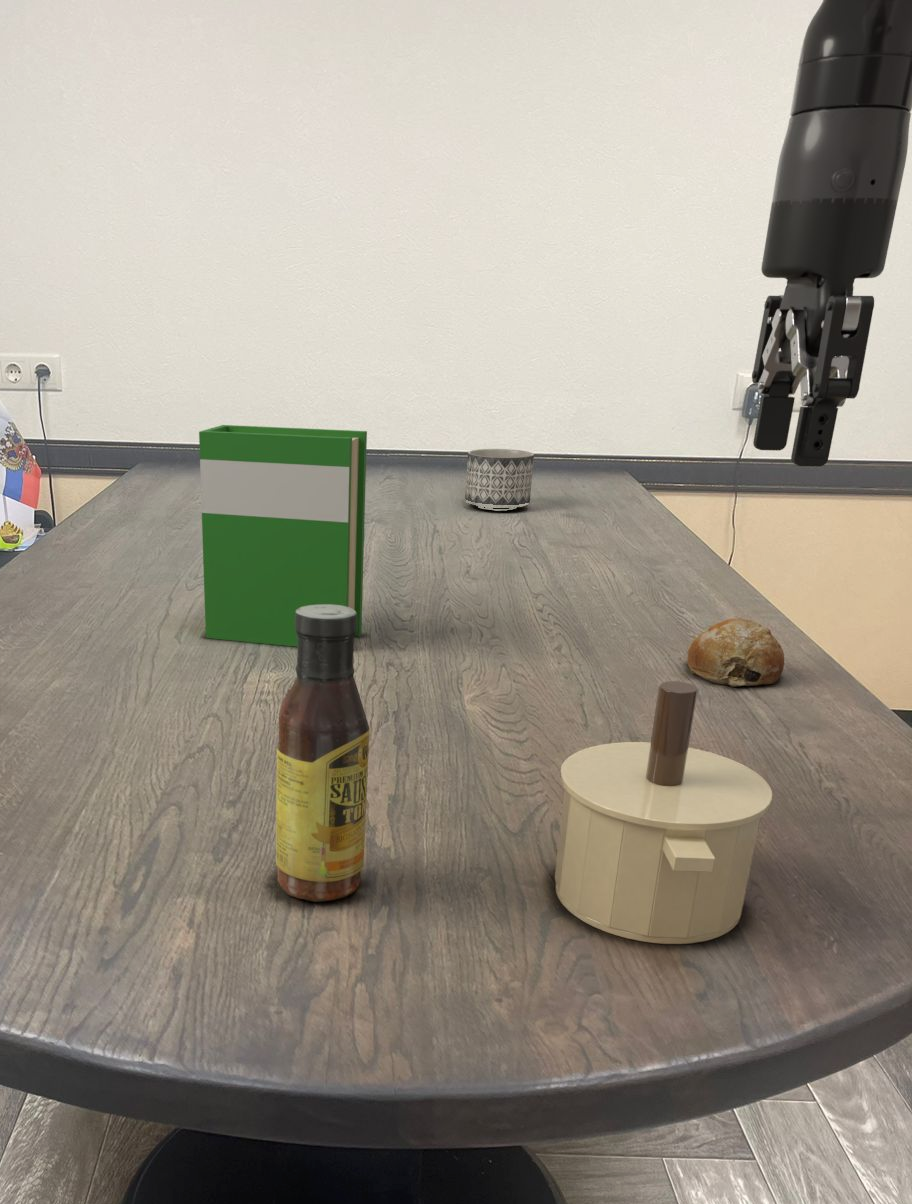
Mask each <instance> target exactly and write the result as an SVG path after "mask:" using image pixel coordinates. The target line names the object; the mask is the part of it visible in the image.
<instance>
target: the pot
mask: <svg viewBox="0 0 912 1204" xmlns="http://www.w3.org/2000/svg"><path fill="white" fill-rule="evenodd" d="M563 792H564V793H563V800H562V802H563V803H562V808H561V809H562V810H561V819H560V827H559V836H558V837H559V838H558V844H557V854H556V861H555V871H554V880H555V886H554V887H555V888H554V889H555V893H556V896H557V898H558V900H559V902H560V903H561V905H562V906H563V907H564V908H565V909H566V910H567V911H568V912H570V914H572V915H573V916H575V917H576V918H577V919H579V920H581V921H582V922H583V923H586V924H587V925H589V926H591V927H593V928H595V929H598V930H601V931H602V932H605V933H608V934H611V935H614V936H617V937H621V938H624V939H627V940H631V941H632V940H633V941H637V942H644V943H651V944H659V945H661V944H662V945H687V944H695V943H696V944H697V943H703V942H707V941H711V940H715V939H716V938H719V937H722V936H723V935H725V934H728V933H729V932H730V931H731V930H733V929H734V928H735V927H736V926H737V925H738V923H739V922H740V921H741V920H740V919H741V918H742V912H743V909H744V905H745V902H746V901H745V900H746V896H747V890H748V886H749V880H750V875H751V871H752V864H753V860H754V855H755V851H756V844H757V841H758V840H757V839H758V835H759V829H760V824H761V819H762V817H760V818H759V819H757V820H755V821H753V822H750V823H748V824H744V825H741V826H737V827H732V828H726V829H718V830H702V831H701V830H673V829H665V828H657V827H651V826H645V825H640V824H636V823H631V822H627V821H624V820H620V819H617V818H614V817H611V816H608V815H605V814H603V813H600V812H598V811H596V810H593V809H591V808H589V807H587V806H586V805H584V804H582V803H580V802H579V801H577V800H576V799H574V798H573V797H572V796H571V795H570V794H569V793H568V792H567V791H566V790H565V789H564V791H563Z"/></svg>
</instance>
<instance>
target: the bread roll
mask: <svg viewBox="0 0 912 1204" xmlns="http://www.w3.org/2000/svg"><path fill="white" fill-rule="evenodd" d="M686 651H687V658H686V665H687V666H688V668H689V669H690V671H691V673H692V675H695V676H698V677H700V678H702V679H704V680H706V681H709V682H711V683H714V684H719V685H729V686H731V687H732V688H736V687H741V686H743V687H744V686H745V687H749V686H760V685H772V684H775V683H776V682H777V681H778V680H779V679H780V677H781V676H782V673H783V672H784V668H785V653H784V650H783V648H782V646H781V644H780V643H779V642H778V640H777V638H776V637H775V636H774V635H772V631H771V630H770V629H769V627H766V626H763V625H761V624H760V623H758V622H756V621H753V620H749V619H745V618H742V617H741V618H740V617H739V618H737V617H735V618H728V619H726V620H723V621H720V622H719V621H718V622H717V623H715V624H713V625H712V626H710V627H708V629H706V630H705V631H703V632H701V633H699V635H698V636H696V637H694V639H692V641H691V642H690V645H689V646H688V648H687V650H686Z"/></svg>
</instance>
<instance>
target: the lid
mask: <svg viewBox="0 0 912 1204" xmlns="http://www.w3.org/2000/svg"><path fill="white" fill-rule="evenodd" d="M698 692H699V689H698V687H697V686H696V685H694V684H692V683H690V682H689V683H688V682H684V681H677V680H676V681H675V680H674V681H673V680H671V681H663V682H660V684H658V691H657V697H656V704H655V711H654V717H653V724H652V731H651V738H650V741H649V742H647V741H626V742H625V741H624V742H622V741H619V742H610V743H603V744H598V745H594V746H588V747H587V748H583V749H580V750H578V751H576V752H574V753H572V754H571V755H569V756H568V757H567V758H566V759H565V760H564V761H563V763H562V765H561V766H560V773H559V777H560V778H559V779H560V783H561V785H562V787H563V789H564V791H565V790H566V791H567V792H568V793H569V794H570V795H571V796H572V797H573V798H574V799H576V800H577V801H579V802H580V803H582V804H584V805H586V806H587V807H589V808H591V809H593V810H596V811H598V812H600V813H603V814H605V815H608V816H611V817H614V818H617V819H620V820H624V821H627V822H631V823H636V824H640V825H645V826H651V827H657V828H665V829H673V830H701V831H702V830H718V829H726V828H732V827H737V826H741V825H744V824H748V823H750V822H753V821H755V820H757V819H759V818H760V817H761V818H762V817H763V816H765V814H766V813H767V812H768V811H769V810H770V808H771V805H772V801H773V791H772V788H771V786H770V785H769V783H768V782H767V780H765V778H764V777H762V776H761V774H758V773H757V772H756V771H755V770H753V769H751V768H750V767H748V766H746V765H744V764H742V763H740V762H738V761H736V760H733V759H731V758H728V757H726V756H723V755H720V754H717V753H714V752H711V751H707V750H703V749H699V748H694V747H690V741H691V734H692V729H693V722H694V717H695V716H694V715H695V710H696V703H697V697H698Z"/></svg>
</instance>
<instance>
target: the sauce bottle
mask: <svg viewBox="0 0 912 1204" xmlns="http://www.w3.org/2000/svg"><path fill="white" fill-rule="evenodd" d="M295 630H296V633H297V637H298V640H297V641H298V644H297V647H296V649H297V650H296V651H297V653H296V654H297V655H296V665H295V673H296V678H295V680H294V682H293V684H292V686H291V687H290V689H288V690H287V692H286V693H285V696H284V698H283V700H282V701H281V704H280V709H279V712H278V742H277V743H276V787H275V788H276V789H275V790H276V791H275V792H276V795H275V796H276V797H275V798H276V799H275V865H276V867H277V881H278V884H279V886H280V887H279V888H280V889H281V890H282V891H283V892H285V893H286V894H287V895H288V896H290V897H294V898H296V899H300V900H304V901H307V902H315V903H318V902H327V901H335V900H339V899H343V898H346V897H348V896H349V895H352V894H354V892H356V890H357V889H358V888H359V885H360V881H361V879H362V877H361V876H362V875H361V874H362V870H363V868H364V862H365V842H366V841H365V840H366V823H367V822H366V821H367V799H368V795H367V794H368V776H369V752H370V731H371V730H370V729H371V728H370V725H369V721H368V717H367V715H366V712H365V708H364V705H363V702H362V699H361V695H360V692H359V688H358V685H357V683H356V680H355V679H356V678H355V676H354V675H355V668H354V653H355V652H354V651H355V644H354V641H355V637H356V636H355V635H356V632H357V613H356V611H355V610H353V609H352V608H349V607H346V606H342V605H333V604H320V605H308V606H303V607H300V608H299V609H297V610H296V612H295Z"/></svg>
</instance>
